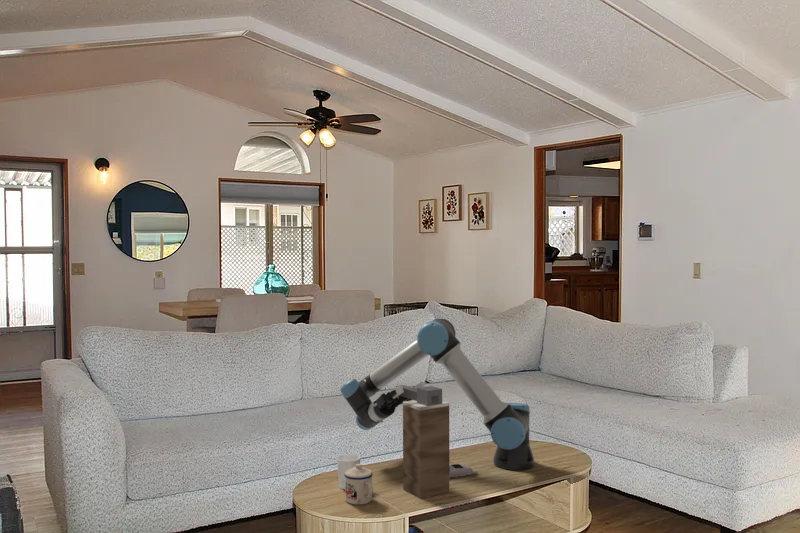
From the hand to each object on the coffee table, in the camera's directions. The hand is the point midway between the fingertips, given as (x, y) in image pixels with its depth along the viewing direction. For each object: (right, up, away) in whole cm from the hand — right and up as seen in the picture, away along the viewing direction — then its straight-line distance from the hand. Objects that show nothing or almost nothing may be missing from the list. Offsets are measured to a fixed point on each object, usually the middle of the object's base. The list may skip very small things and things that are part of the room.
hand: (412, 386), depth 239 cm
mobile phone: (+11, -34, +9) cm, 37 cm away
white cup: (-22, -34, -1) cm, 41 cm away
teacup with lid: (-17, -35, -15) cm, 41 cm away
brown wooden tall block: (+5, -34, -6) cm, 35 cm away
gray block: (+1, -4, -2) cm, 5 cm away
